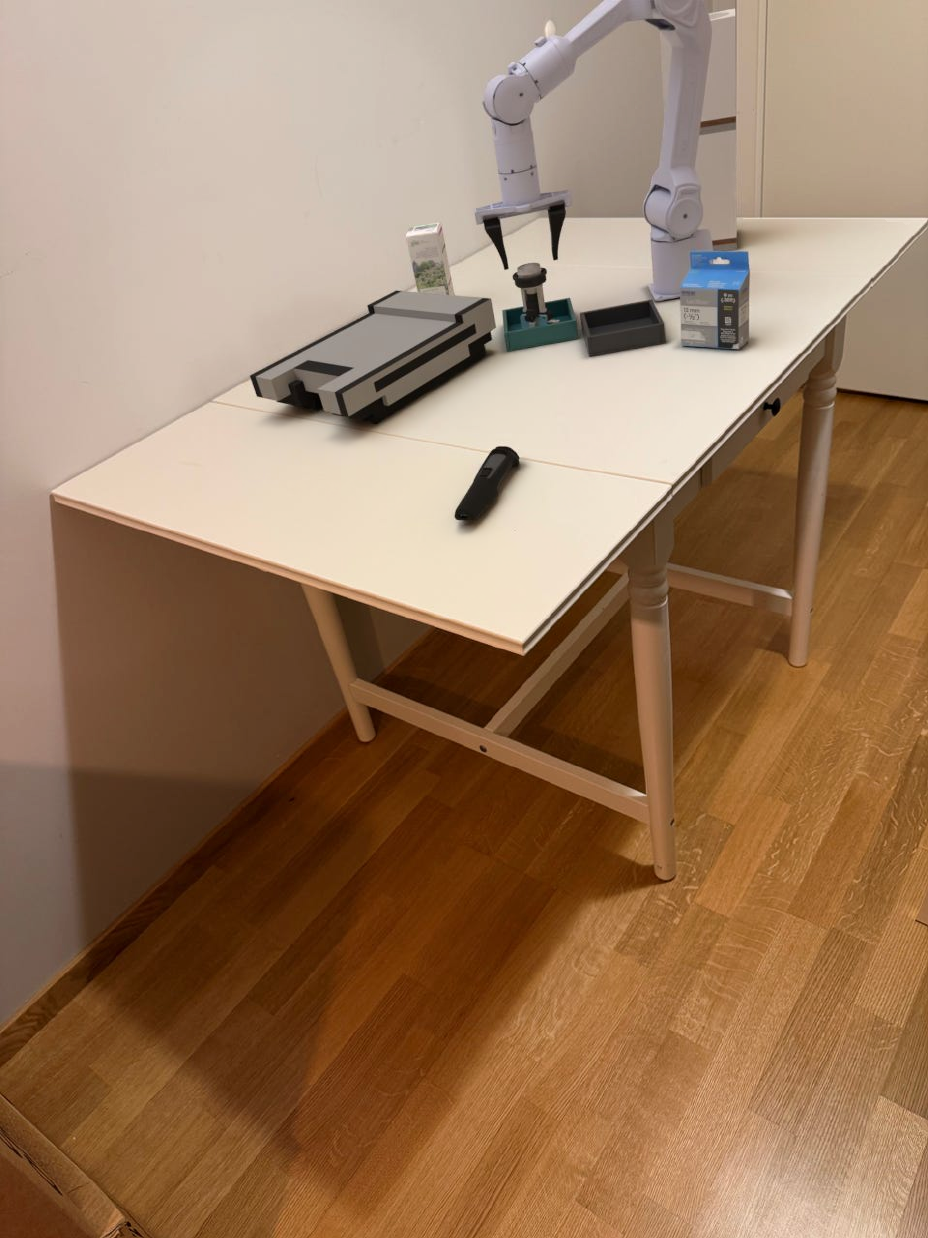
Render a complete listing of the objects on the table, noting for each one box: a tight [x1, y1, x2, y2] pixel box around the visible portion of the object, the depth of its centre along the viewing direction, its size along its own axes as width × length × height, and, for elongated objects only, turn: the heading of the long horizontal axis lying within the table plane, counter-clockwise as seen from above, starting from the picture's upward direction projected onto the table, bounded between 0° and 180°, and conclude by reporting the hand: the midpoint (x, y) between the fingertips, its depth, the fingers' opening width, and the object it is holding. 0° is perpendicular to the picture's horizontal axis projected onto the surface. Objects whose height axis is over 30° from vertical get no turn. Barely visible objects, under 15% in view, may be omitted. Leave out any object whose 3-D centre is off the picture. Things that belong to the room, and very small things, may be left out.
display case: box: [659, 8, 738, 251], centre depth 155 cm, size 11×11×35 cm
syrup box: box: [405, 222, 456, 295], centre depth 159 cm, size 6×6×14 cm
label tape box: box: [679, 250, 751, 350], centre depth 125 cm, size 9×4×12 cm, turn 53°
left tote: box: [501, 297, 579, 352], centre depth 144 cm, size 11×11×3 cm
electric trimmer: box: [454, 445, 521, 522], centre depth 105 cm, size 4×16×3 cm, turn 159°
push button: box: [512, 262, 559, 329], centre depth 142 cm, size 7×5×10 cm
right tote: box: [579, 299, 666, 357], centre depth 136 cm, size 11×11×3 cm
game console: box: [249, 290, 497, 425], centre depth 138 cm, size 21×32×8 cm, turn 139°
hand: (530, 262), depth 141 cm, fingers open, 7 cm apart
